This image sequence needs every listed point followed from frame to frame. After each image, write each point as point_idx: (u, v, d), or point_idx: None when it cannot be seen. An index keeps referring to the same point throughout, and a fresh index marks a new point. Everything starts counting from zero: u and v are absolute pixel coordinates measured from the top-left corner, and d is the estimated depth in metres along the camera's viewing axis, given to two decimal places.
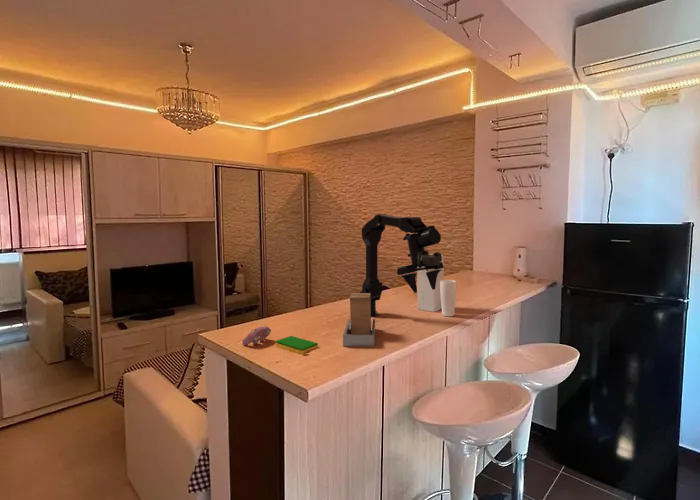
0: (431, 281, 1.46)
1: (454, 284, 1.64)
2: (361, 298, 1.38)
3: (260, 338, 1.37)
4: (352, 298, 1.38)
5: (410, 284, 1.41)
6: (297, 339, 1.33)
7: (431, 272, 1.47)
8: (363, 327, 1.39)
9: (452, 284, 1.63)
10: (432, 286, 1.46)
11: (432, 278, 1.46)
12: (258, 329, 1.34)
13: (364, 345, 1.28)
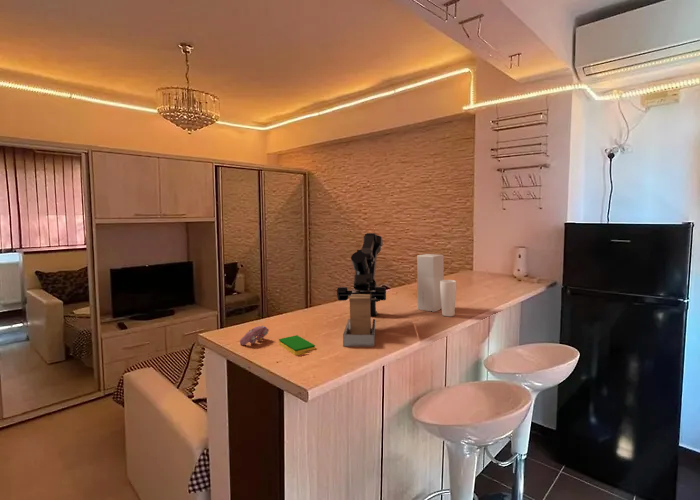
0: None
1: (454, 284, 1.64)
2: (361, 299, 1.37)
3: (257, 338, 1.37)
4: (352, 299, 1.37)
5: None
6: (299, 339, 1.33)
7: None
8: (363, 328, 1.37)
9: (452, 284, 1.63)
10: None
11: None
12: (255, 329, 1.35)
13: (364, 345, 1.28)
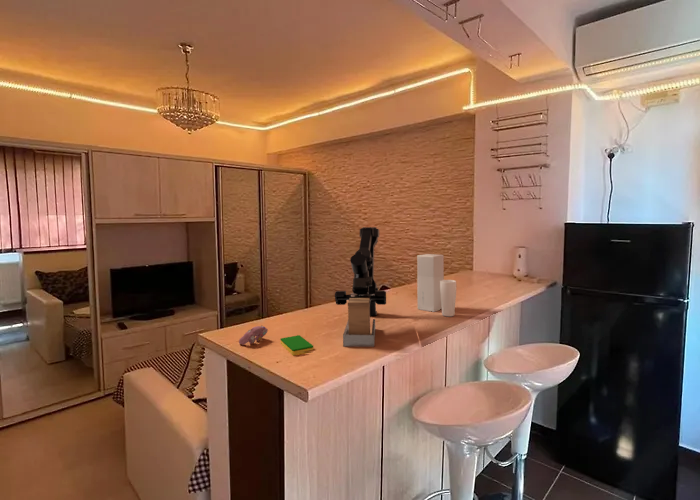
0: None
1: (454, 284, 1.64)
2: (360, 303, 1.30)
3: (257, 338, 1.38)
4: (350, 303, 1.30)
5: None
6: (300, 339, 1.33)
7: None
8: None
9: (452, 284, 1.63)
10: None
11: None
12: (255, 329, 1.35)
13: (364, 345, 1.28)
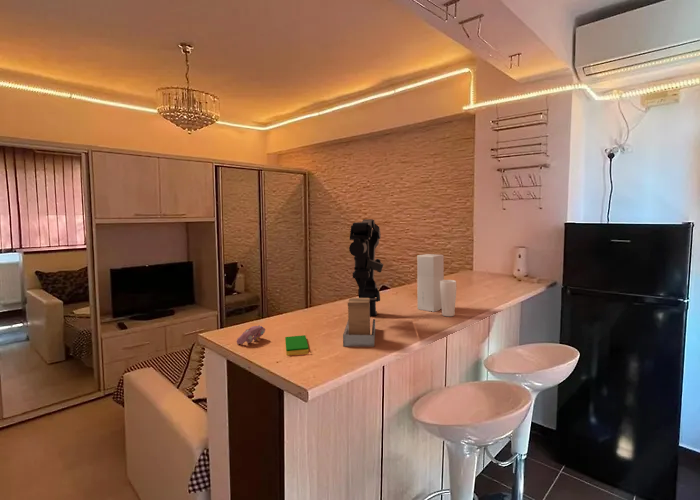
0: None
1: (454, 284, 1.64)
2: (360, 303, 1.30)
3: (254, 337, 1.38)
4: (350, 303, 1.30)
5: (360, 285, 1.54)
6: (302, 339, 1.33)
7: None
8: None
9: (452, 284, 1.63)
10: None
11: None
12: (252, 328, 1.35)
13: (364, 345, 1.28)
